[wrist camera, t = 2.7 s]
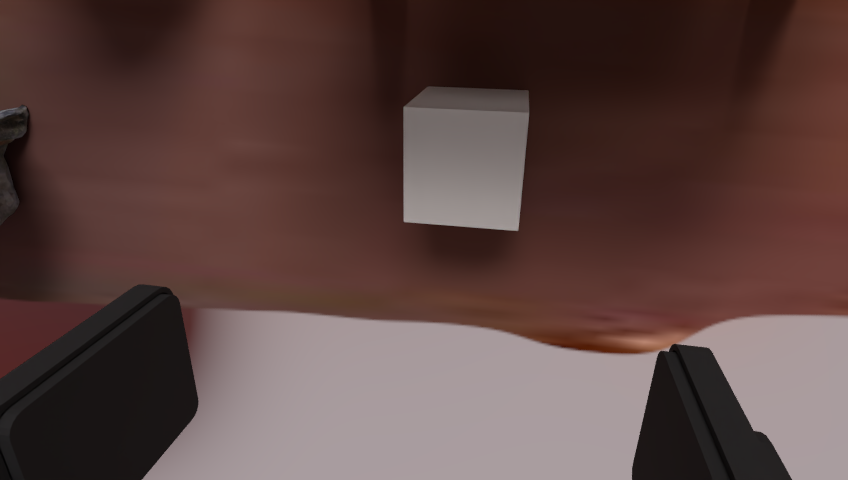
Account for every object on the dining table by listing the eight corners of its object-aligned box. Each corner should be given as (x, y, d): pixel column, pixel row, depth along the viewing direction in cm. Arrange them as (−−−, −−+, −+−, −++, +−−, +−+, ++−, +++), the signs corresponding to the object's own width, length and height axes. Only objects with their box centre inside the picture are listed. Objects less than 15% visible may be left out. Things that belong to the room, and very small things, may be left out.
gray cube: (427, 86, 27) (403, 107, 21) (528, 90, 26) (529, 112, 21) (426, 181, 29) (403, 221, 23) (519, 187, 28) (518, 231, 23)
